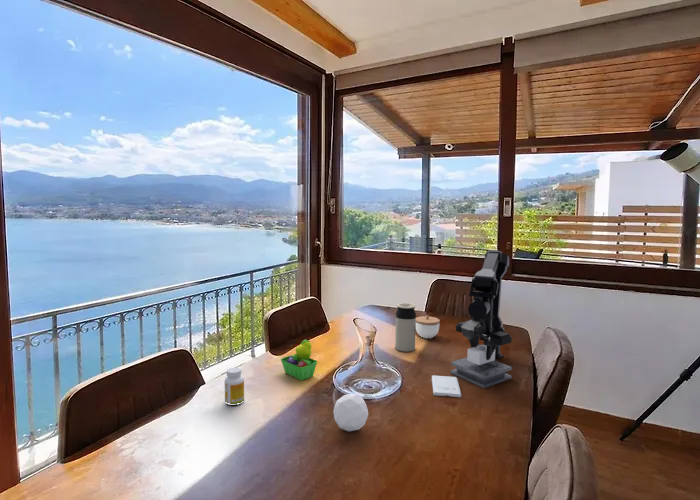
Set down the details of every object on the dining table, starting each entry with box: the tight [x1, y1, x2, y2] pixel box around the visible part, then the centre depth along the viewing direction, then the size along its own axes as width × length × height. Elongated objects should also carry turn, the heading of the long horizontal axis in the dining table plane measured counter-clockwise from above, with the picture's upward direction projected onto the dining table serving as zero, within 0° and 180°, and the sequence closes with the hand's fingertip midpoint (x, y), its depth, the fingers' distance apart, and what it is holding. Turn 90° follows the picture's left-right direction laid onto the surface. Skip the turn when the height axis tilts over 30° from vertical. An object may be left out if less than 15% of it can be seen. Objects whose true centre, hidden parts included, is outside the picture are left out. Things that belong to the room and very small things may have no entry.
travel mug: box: [394, 302, 417, 353], centre depth 161 cm, size 8×8×18 cm
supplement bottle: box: [224, 367, 245, 404], centre depth 115 cm, size 5×5×10 cm
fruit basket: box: [280, 339, 318, 381], centre depth 136 cm, size 11×9×11 cm
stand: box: [450, 356, 513, 389], centre depth 136 cm, size 14×14×4 cm
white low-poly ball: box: [333, 393, 369, 432], centre depth 104 cm, size 9×9×12 cm
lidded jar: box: [415, 315, 441, 339], centre depth 178 cm, size 11×11×9 cm
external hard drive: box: [431, 374, 462, 398], centre depth 127 cm, size 2×8×12 cm
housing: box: [466, 344, 496, 365], centre depth 135 cm, size 5×8×5 cm, turn 123°
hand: (481, 357), depth 136 cm, fingers closed on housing, 5 cm apart
